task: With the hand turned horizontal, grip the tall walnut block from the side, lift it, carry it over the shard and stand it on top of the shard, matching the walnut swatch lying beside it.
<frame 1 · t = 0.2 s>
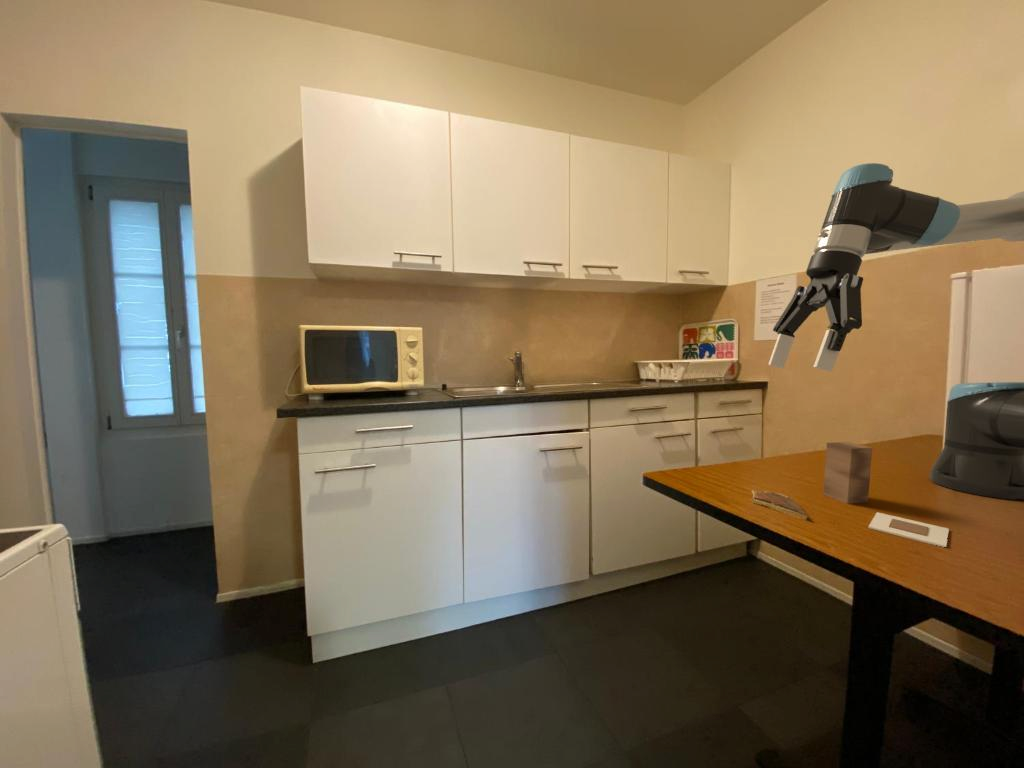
hand: (796, 368, 75), 27 cm above the table, tool tilted 15°, fingers open, 13 cm apart
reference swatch: (908, 529, 68), on the table
walnut block: (844, 498, 82), on the table
shard: (783, 509, 78), on the table
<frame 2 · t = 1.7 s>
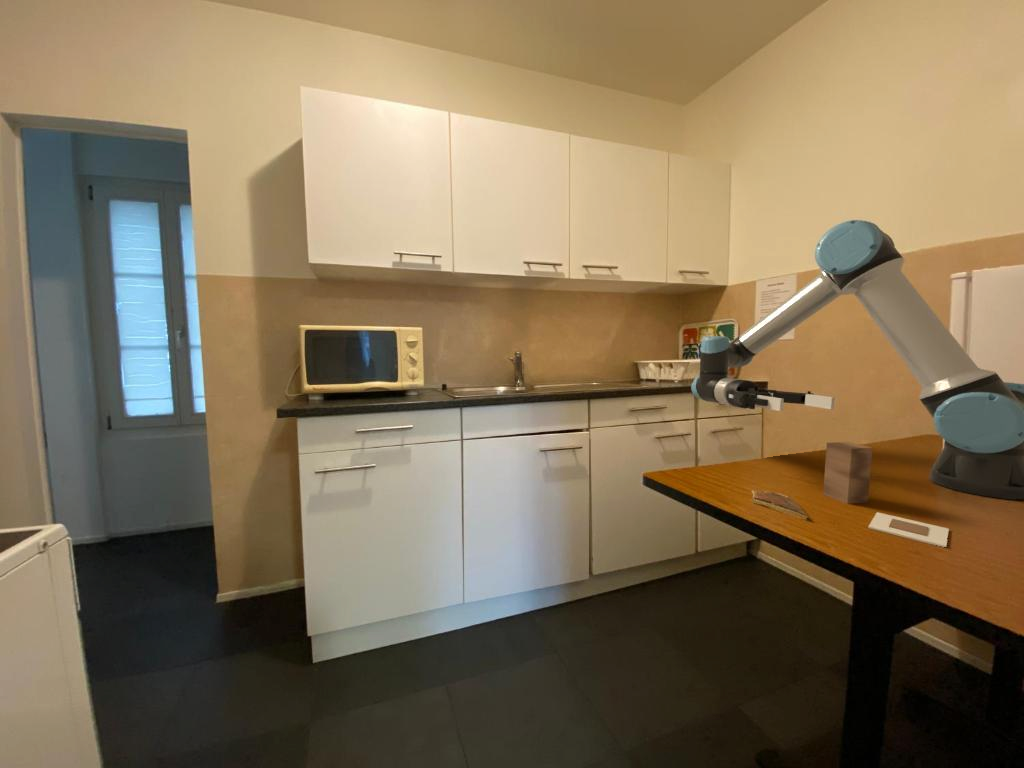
hand: (807, 404, 89), 18 cm above the table, tool horizontal, fingers open, 13 cm apart
nothing on the table moved.
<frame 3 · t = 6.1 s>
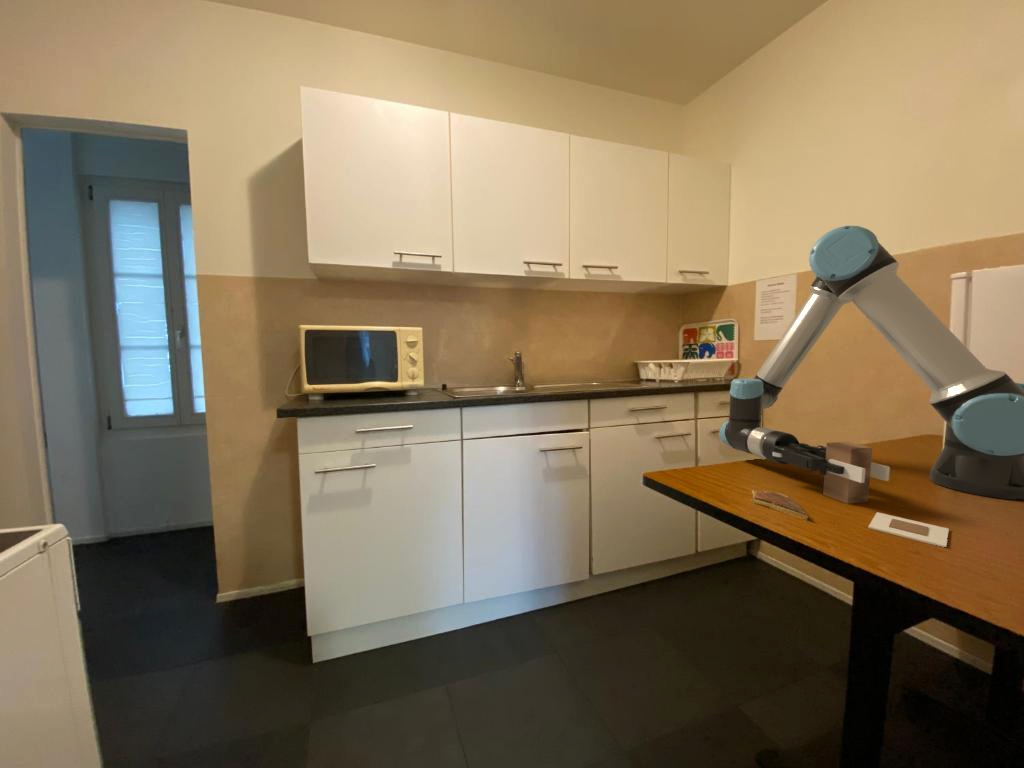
hand: (875, 474, 76), 7 cm above the table, tool horizontal, fingers closed on walnut block, 5 cm apart
walnut block: (844, 498, 82), on the table, touching gripper
everything else where it was.
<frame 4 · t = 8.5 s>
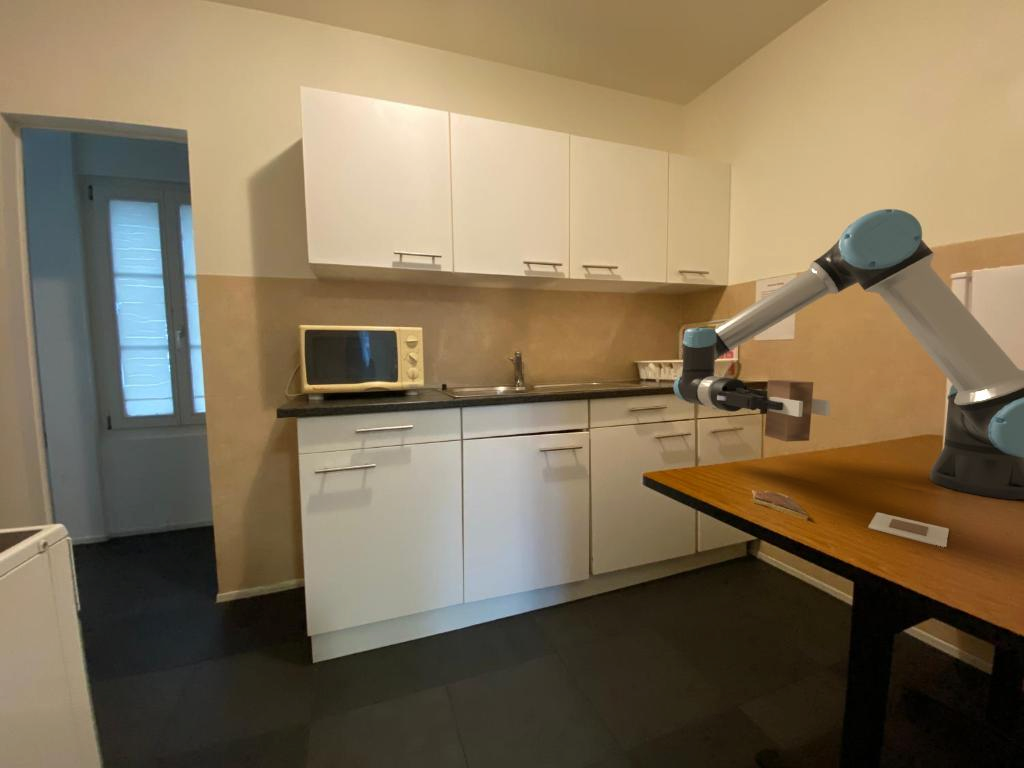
hand: (814, 408, 71), 20 cm above the table, tool horizontal, fingers closed on walnut block, 5 cm apart
walnut block: (786, 438, 77), point 13 cm above the table, touching gripper
everything else where it was.
when the fingers open (10 cm above the table, at t = 11.1 s): walnut block drops 2 cm, resting on shard.
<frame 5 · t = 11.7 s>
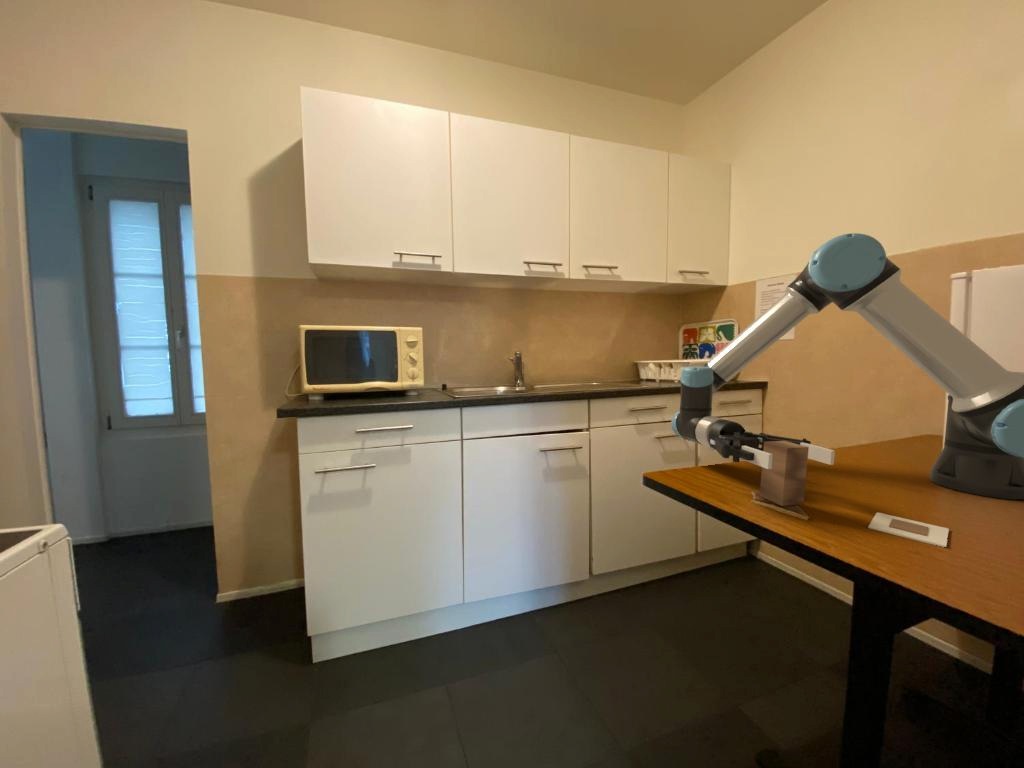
hand: (802, 459, 74), 10 cm above the table, tool horizontal, fingers open, 13 cm apart
walnut block: (781, 499, 78), point 1 cm above the table, touching shard
shard: (783, 510, 78), on the table, touching walnut block
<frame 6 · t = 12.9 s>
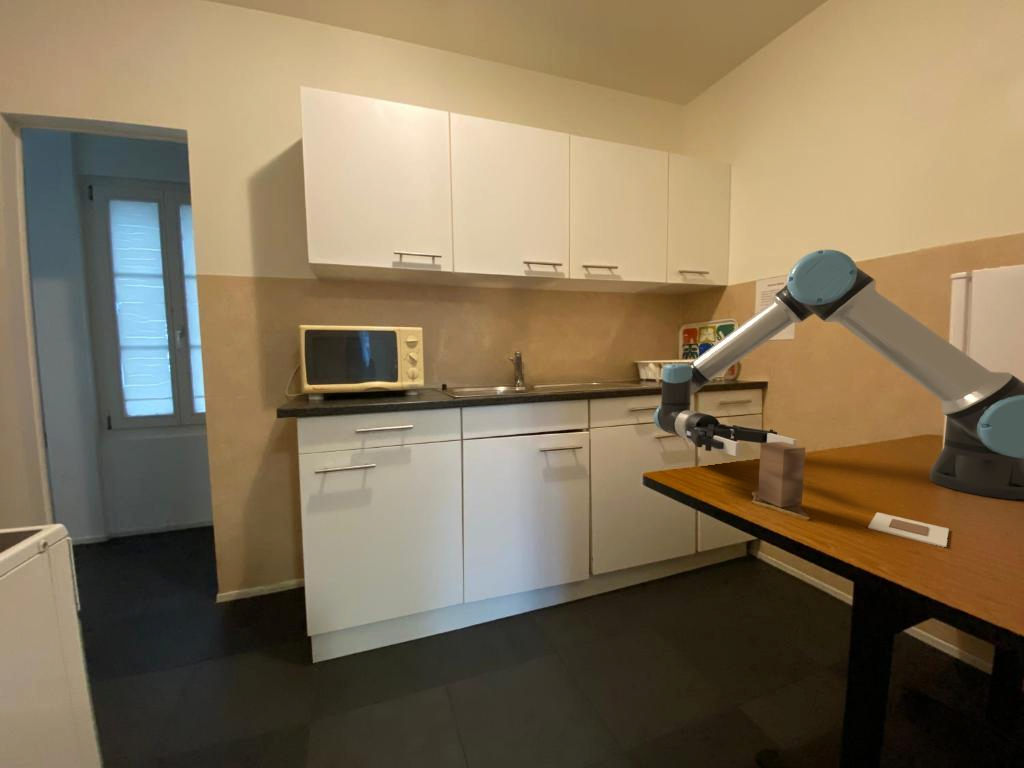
hand: (766, 447, 81), 10 cm above the table, tool horizontal, fingers open, 13 cm apart
nothing on the table moved.
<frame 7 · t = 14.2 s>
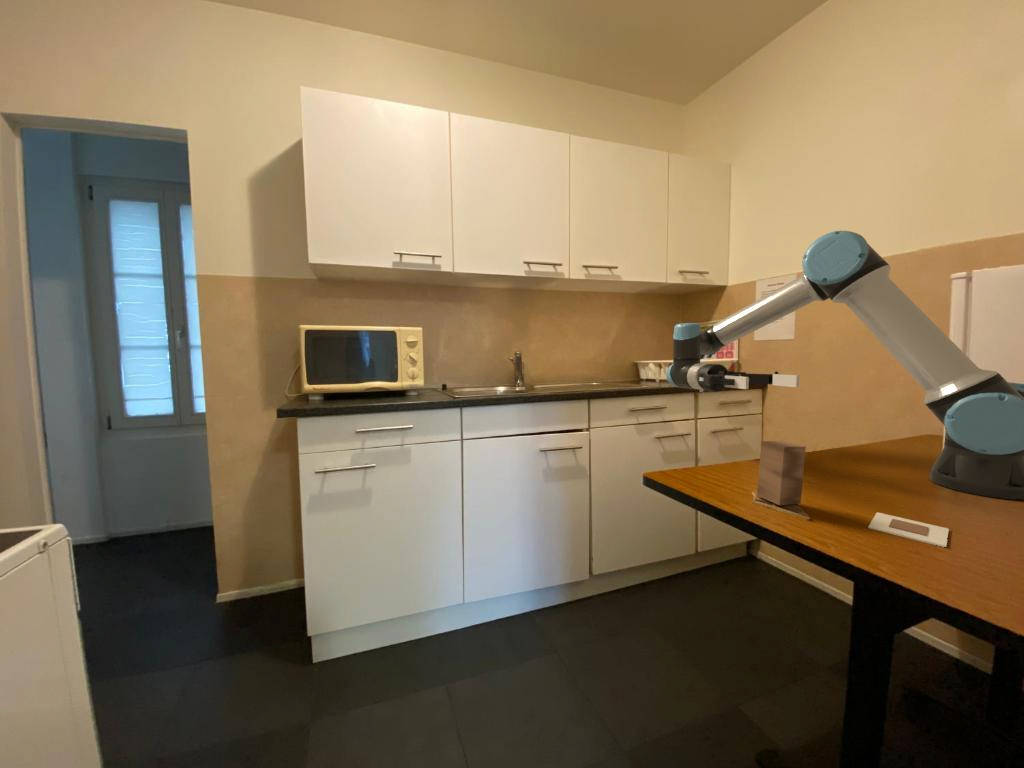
hand: (773, 382, 91), 23 cm above the table, tool horizontal, fingers open, 13 cm apart
nothing on the table moved.
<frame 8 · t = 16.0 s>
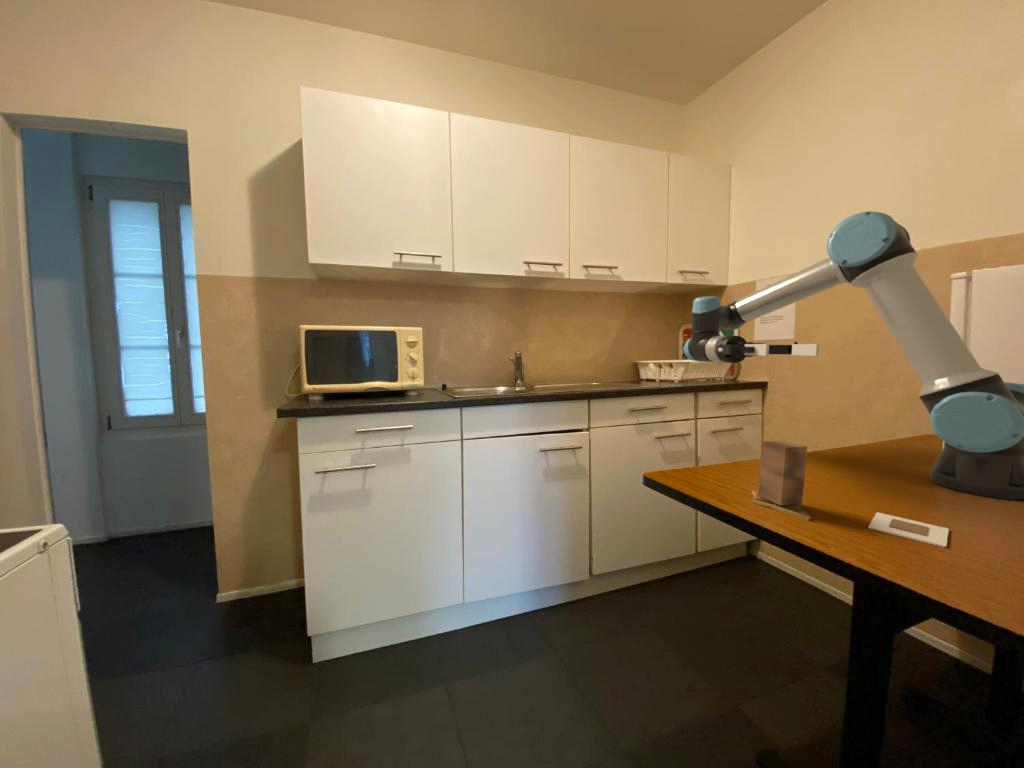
hand: (793, 349, 92), 30 cm above the table, tool horizontal, fingers open, 13 cm apart
nothing on the table moved.
at the end: walnut block inside the target area on the shard (1.0 cm from its centre), point 2.1 cm above the shard's base; walnut block tilted 2°; the gripper is holding nothing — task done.
